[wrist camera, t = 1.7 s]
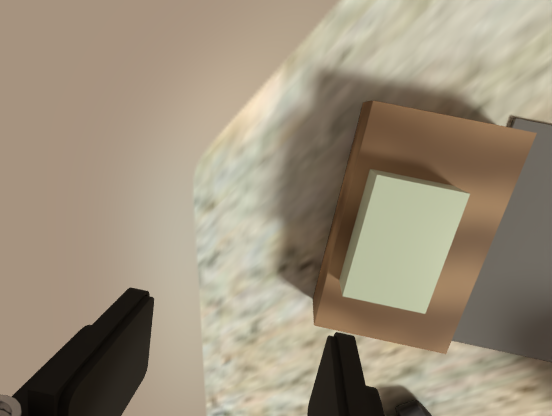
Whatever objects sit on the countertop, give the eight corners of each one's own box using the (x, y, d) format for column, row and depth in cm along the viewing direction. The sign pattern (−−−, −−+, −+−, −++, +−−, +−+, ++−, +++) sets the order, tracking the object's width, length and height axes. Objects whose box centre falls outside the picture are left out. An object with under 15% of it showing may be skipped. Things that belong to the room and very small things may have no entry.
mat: (557, 361, 31) (560, 363, 31) (430, 334, 31) (431, 336, 31) (671, 149, 25) (675, 149, 25) (513, 118, 26) (516, 118, 25)
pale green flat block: (414, 296, 26) (425, 313, 24) (339, 280, 26) (342, 296, 24) (453, 185, 23) (470, 193, 21) (370, 168, 24) (377, 174, 21)
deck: (428, 324, 31) (445, 353, 27) (312, 299, 31) (313, 325, 27) (502, 130, 26) (536, 133, 22) (363, 102, 26) (373, 100, 22)
